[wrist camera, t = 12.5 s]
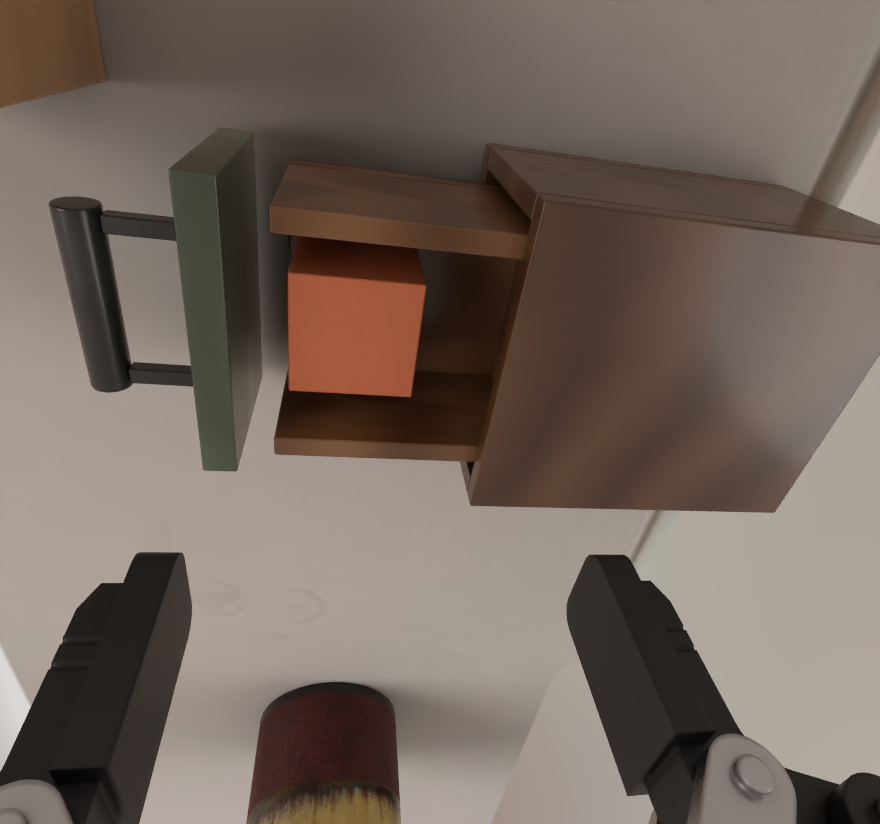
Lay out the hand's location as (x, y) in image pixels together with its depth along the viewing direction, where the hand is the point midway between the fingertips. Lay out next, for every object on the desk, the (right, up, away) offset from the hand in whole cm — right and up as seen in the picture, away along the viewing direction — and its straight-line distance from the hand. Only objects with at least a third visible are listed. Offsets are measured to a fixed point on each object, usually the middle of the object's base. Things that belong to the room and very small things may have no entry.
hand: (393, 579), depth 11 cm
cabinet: (+9, +9, +15) cm, 20 cm away
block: (-3, +8, +12) cm, 15 cm away
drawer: (-4, +9, +12) cm, 16 cm away
